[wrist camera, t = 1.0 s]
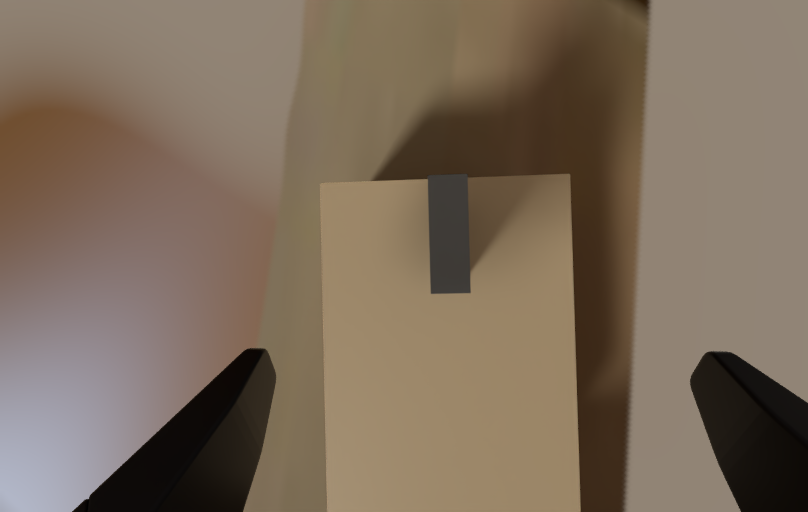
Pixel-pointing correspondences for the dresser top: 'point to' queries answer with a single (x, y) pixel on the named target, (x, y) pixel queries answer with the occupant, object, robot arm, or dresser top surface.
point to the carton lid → (450, 345)
